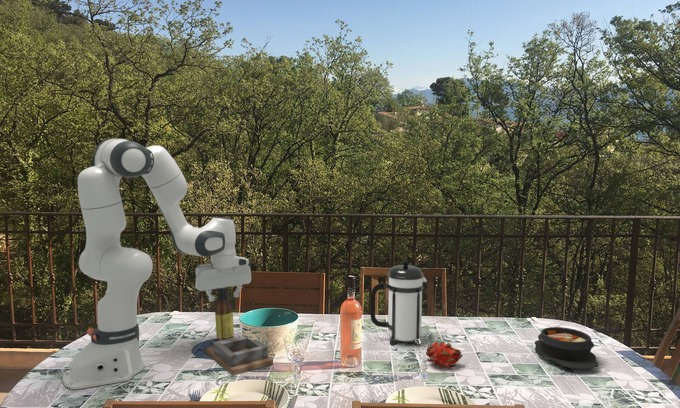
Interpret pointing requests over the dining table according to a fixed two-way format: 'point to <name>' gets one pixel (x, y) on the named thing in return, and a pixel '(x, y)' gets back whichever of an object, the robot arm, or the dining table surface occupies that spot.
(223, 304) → the sauce bottle
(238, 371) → the board
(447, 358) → the dragon fruit
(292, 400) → the dining table surface
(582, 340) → the casserole
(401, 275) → the coffee press
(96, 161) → the robot arm
